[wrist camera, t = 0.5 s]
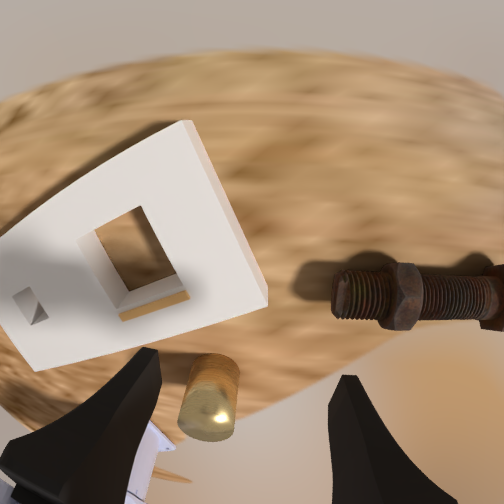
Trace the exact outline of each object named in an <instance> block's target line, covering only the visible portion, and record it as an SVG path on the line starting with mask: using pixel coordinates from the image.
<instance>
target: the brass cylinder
mask: <svg viewBox="0 0 504 504" xmlns="http://www.w3.org/2000/svg"><path fill="white" fill-rule="evenodd" d="M239 375H240V371H239V367H238V366H237V364H236V363H235V362H234V361H233V360H232V359H230V358H229V357H227V356H224V355H221V354H215V353H210V354H204V355H201V356H199V357H198V358H196V359H195V361H194V362H193V365H192V368H191V372H190V376H189V379H188V383H187V387H186V390H185V394H184V398H183V402H182V405H181V409H180V413H179V417H178V426H179V428H180V429H181V430H182V431H183V432H184V433H185V434H187V435H188V436H190V437H192V438H195V439H198V440H202V441H207V442H217V441H222V440H225V439H228V438H229V437H230V436H231V435H232V434H233V432H234V424H235V414H236V404H237V394H238V385H239Z"/></svg>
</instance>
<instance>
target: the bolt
mask: <svg viewBox="0 0 504 504" xmlns="http://www.w3.org/2000/svg"><path fill="white" fill-rule="evenodd" d="M331 311H332V314H333V315H334V316H335V317H336V318H337V319H339V318H340V317H341V319H342V320H343V319H344V318H346V319H349V318H351V319H352V320H353V319H354V318H355V319H356V320H358V319H359V318H360V319H361V320H363V319H366V320H368V319H370V320H373V319H375V320H378V323H379V325H380V326H381V327H382V328H384V329H388V330H395V331H403V330H411V328H412V327H413V326H414V325H415V324H416V322H417V320H449V319H450V320H452V319H454V320H455V319H457V320H458V319H460V320H462V319H463V320H465V319H467V320H468V319H475V320H479V322H480V327H481V329H486V330H493V331H501V332H502V331H503V332H504V264H502V265H495V266H489V267H485V270H484V273H483V276H477V277H473V276H455V275H454V276H452V275H450V276H449V275H429V274H427V275H426V274H420V273H419V271H418V269H417V268H416V266H415V265H414V263H390V264H386V265H385V266H384V267H383V268H382V269H381V271H380V273H379V272H373V271H372V272H369V271H366V272H364V271H361V272H360V271H356V272H355V271H350V270H347V271H345V270H341V272H337V273H336V274H335V276H334V282H333V287H332V298H331Z"/></svg>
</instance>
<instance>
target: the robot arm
mask: <svg viewBox="0 0 504 504" xmlns="http://www.w3.org/2000/svg"><path fill="white" fill-rule="evenodd" d="M161 385H162V378H161V371H160V364H159V357H158V350H155V349H151V348H146V347H142V348H141V349H140V350H139V351H138V352H137V353H136V354H135V355H134V356H133V358H132V359H131V360H130V361H129V362H128V363H127V364H126V365H125V366H124V367H123V368H122V369H121V370H120V371H119V372H118V373H117V374H116V375H115V376H114V377H113V378H112V379H111V380H110V381H108V382H107V383H106V384H105V385H104V386H103V387H102V388H101V389H99V390H98V391H97V392H96V393H95V394H94V395H92V396H91V397H90V398H89V399H87V400H86V401H85V402H84V403H82V404H81V405H79V406H78V407H77V408H75V409H74V410H72V411H71V412H69V413H68V414H66V415H64V416H63V417H61V418H60V419H58V420H56V421H54V422H53V423H51V424H49V425H47V426H45V427H43V428H41V429H39V430H37V431H34V432H32V433H30V434H27V435H25V436H22V437H19V438H16V439H13V440H10V441H9V443H8V444H7V446H6V447H5V449H4V451H3V453H2V455H1V457H0V469H1V470H2V471H3V472H4V473H5V474H6V475H8V477H10V478H11V479H12V480H13V481H14V482H15V483H16V486H15V488H13V487H12V486H10V485H9V484H7V483H6V482H5V481H3V480H2V479H0V504H147V503H145V502H144V500H145V497H146V493H147V489H148V485H149V482H150V478H151V475H152V471H153V467H154V464H155V460H156V456H157V453H158V452H160V451H173V450H175V449H176V446H175V445H174V444H173V443H172V442H171V441H170V440H169V439H168V438H167V437H166V436H165V435H164V434H163V433H162V432H161V431H160V430H159V429H158V428H157V427H156V426H155V425H154V424H153V423H152V422H151V421H150V418H151V416H152V413H153V411H154V408H155V406H156V403H157V400H158V396H159V392H160V389H161ZM328 432H329V442H330V451H331V462H332V472H333V493H332V504H458V502H457V500H456V499H454V498H453V497H451V496H450V495H449V494H447V493H446V492H444V491H443V490H442V489H440V488H439V487H438V486H437V485H436V484H435V483H433V482H432V481H431V480H430V479H429V478H428V477H427V476H426V475H425V474H424V473H422V471H421V470H420V469H419V468H418V467H417V466H416V465H415V464H414V463H413V462H412V461H411V460H410V459H409V457H408V456H407V455H406V454H405V453H404V451H403V450H402V449H401V448H400V446H399V445H398V444H397V442H396V441H395V439H394V438H393V437H392V435H391V434H390V432H389V431H388V429H387V428H386V426H385V425H384V423H383V421H382V420H381V418H380V416H379V415H378V413H377V411H376V410H375V408H374V406H373V405H372V402H371V401H370V399H369V397H368V395H367V393H366V392H365V390H364V388H363V386H362V384H361V382H360V380H359V378H358V377H357V376H356V375H342V376H341V378H340V381H339V383H338V385H337V387H336V389H335V392H334V394H333V396H332V398H331V401H330V402H329V405H328Z"/></svg>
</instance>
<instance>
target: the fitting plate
mask: <svg viewBox="0 0 504 504" xmlns="http://www.w3.org/2000/svg"><path fill="white" fill-rule="evenodd" d="M140 205H141V207H142V209H143V211H144V213H145V215H146V217H147V219H148V220H149V222H150V224H151V226H152V228H153V230H154V232H155V234H156V236H157V238H158V240H159V242H160V243H161V245H162V247H163V249H164V251H165V253H166V255H167V257H168V258H169V260H170V262H171V264H172V266H173V268H174V269H175V271H176V274H174V275H171V276H168V277H166V278H163V279H161V280H158V281H155V282H153V283H150V284H148V285H145V286H143V287H140V288H137V289H135V290H132V291H130V292H129V291H128V289H127V287H126V286H125V284H124V282H123V281H122V279H121V277H120V276H119V274H118V272H117V271H116V269H115V267H114V265H113V264H112V262H111V260H110V258H109V257H108V255H107V253H106V251H105V249H104V248H103V246H102V244H101V242H100V240H99V238H98V237H97V235H96V233H95V231H94V229H96V228H98V227H100V226H102V225H104V224H105V223H107V222H109V221H111V220H113V219H115V218H117V217H119V216H121V215H122V214H124V213H126V212H128V211H130V210H132V209H134V208H136V207H138V206H140ZM267 306H268V286H267V284H266V282H265V279H264V277H263V275H262V273H261V271H260V268H259V266H258V264H257V262H256V260H255V257H254V255H253V253H252V251H251V249H250V247H249V244H248V242H247V240H246V238H245V236H244V233H243V231H242V229H241V227H240V225H239V222H238V220H237V218H236V216H235V214H234V212H233V209H232V207H231V205H230V203H229V201H228V198H227V196H226V194H225V192H224V190H223V187H222V185H221V183H220V181H219V179H218V177H217V174H216V172H215V170H214V168H213V166H212V163H211V161H210V159H209V157H208V155H207V152H206V150H205V148H204V146H203V144H202V142H201V139H200V137H199V135H198V133H197V131H196V128H195V126H194V124H193V122H192V120H180V121H178V122H176V123H174V124H172V125H170V126H169V127H167V128H165V129H163V130H161V131H159V132H157V133H155V134H153V135H151V136H150V137H148V138H146V139H144V140H142V141H140V142H139V143H137V144H135V145H133V146H132V147H130V148H128V149H126V150H125V151H123V152H121V153H120V154H118V155H116V156H114V157H113V158H111V159H110V160H108V161H106V162H105V163H103V164H101V165H100V166H98V167H97V168H95V169H93V170H92V171H90V172H89V173H87V174H86V175H84V176H83V177H81V178H79V179H78V180H76V181H75V182H73V183H72V184H71V185H69V186H68V187H66V188H65V189H63V190H62V191H60V192H59V193H58V194H56V195H55V196H53V197H52V198H50V199H49V200H48V201H46V202H45V203H44V204H42V205H41V206H40V207H38V208H37V209H36V210H34V211H33V212H32V213H30V214H29V215H28V216H26V217H25V218H24V219H23V220H21V221H20V222H19V223H17V224H16V225H15V226H14V227H12V228H11V229H10V230H9V231H8V232H6V233H5V234H4V235H3V236H2V237H0V325H1V326H2V328H3V329H4V331H5V332H6V333H7V335H8V336H9V338H10V339H11V341H12V342H13V343H14V345H15V346H16V348H17V349H18V350H19V352H20V353H21V354H22V356H23V357H24V358H25V360H26V361H27V362H28V364H29V365H30V366H31V367H32V369H33V370H34V371H35V372H36V371H41V370H45V369H49V368H54V367H58V366H62V365H67V364H71V363H75V362H79V361H83V360H87V359H91V358H95V357H99V356H103V355H107V354H110V353H114V352H118V351H122V350H125V349H129V348H133V347H136V346H140V345H144V344H147V343H151V342H154V341H158V340H161V339H165V338H168V337H172V336H175V335H178V334H182V333H185V332H188V331H192V330H195V329H198V328H202V327H205V326H208V325H211V324H215V323H218V322H221V321H224V320H227V319H230V318H233V317H237V316H240V315H243V314H246V313H249V312H252V311H255V310H258V309H261V308H264V307H267Z"/></svg>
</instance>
